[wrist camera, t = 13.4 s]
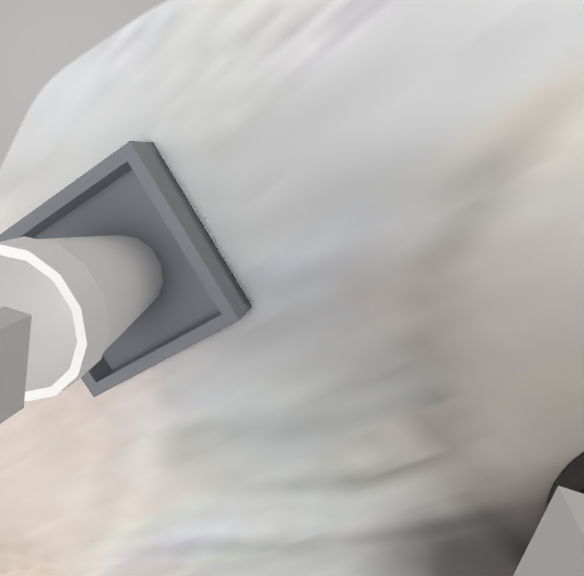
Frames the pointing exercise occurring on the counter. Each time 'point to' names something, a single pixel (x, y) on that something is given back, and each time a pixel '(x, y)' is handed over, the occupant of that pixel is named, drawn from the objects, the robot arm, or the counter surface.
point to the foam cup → (75, 300)
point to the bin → (166, 245)
